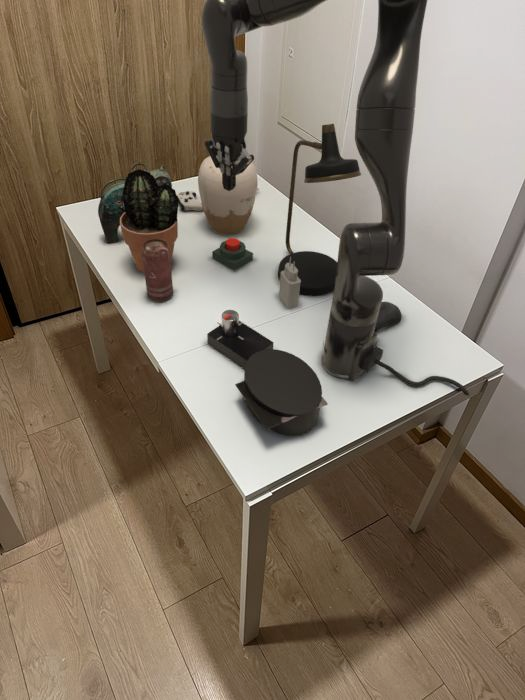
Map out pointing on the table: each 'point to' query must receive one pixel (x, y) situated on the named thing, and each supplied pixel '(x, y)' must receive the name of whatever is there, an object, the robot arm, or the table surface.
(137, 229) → the potted plant
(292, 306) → the power adapter
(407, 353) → the table surface
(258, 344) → the panel
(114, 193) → the ceramic cat
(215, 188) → the vase
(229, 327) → the knob
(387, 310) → the computer mouse
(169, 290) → the can
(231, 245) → the button
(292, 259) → the lamp
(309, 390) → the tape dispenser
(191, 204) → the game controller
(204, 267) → the table surface
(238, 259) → the box
